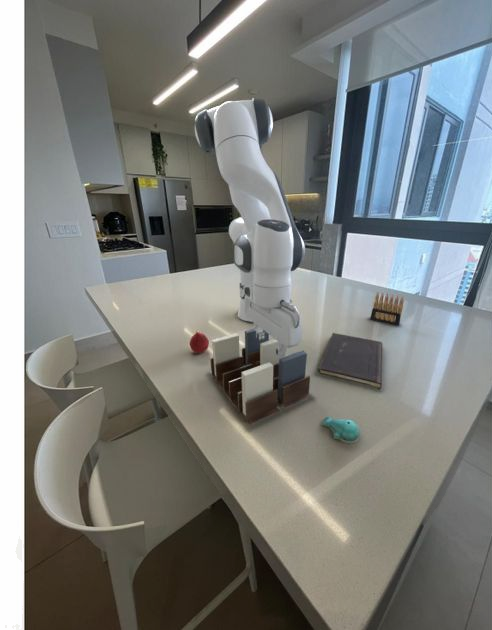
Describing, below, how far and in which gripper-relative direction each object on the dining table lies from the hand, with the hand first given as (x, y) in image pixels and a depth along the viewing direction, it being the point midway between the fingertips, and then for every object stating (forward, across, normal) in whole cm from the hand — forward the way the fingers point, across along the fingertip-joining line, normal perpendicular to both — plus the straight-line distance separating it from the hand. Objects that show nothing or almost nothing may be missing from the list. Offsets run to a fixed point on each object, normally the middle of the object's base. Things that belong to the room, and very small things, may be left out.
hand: (269, 346), depth 66 cm
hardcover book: (+10, -5, -27) cm, 29 cm away
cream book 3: (+10, 0, -1) cm, 10 cm away
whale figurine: (+11, -22, -4) cm, 25 cm away
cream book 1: (+10, +8, +8) cm, 15 cm away
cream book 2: (+10, -8, +8) cm, 15 cm away
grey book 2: (+10, -8, -1) cm, 13 cm away
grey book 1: (+10, +8, -1) cm, 12 cm away
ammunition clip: (+10, +8, -60) cm, 61 cm away
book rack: (+11, 0, +4) cm, 11 cm away
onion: (+11, +23, +11) cm, 28 cm away
